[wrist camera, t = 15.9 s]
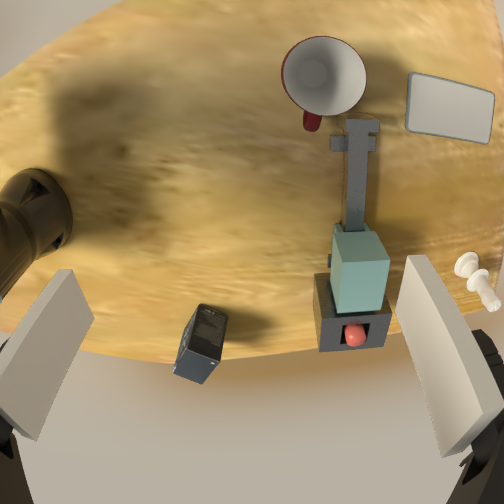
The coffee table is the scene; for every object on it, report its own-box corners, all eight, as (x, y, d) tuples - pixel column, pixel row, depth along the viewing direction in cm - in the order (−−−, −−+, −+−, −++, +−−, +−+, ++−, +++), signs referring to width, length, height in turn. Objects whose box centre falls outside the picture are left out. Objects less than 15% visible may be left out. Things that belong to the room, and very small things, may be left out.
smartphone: (489, 145, 36) (405, 132, 37) (485, 144, 37) (402, 130, 38) (495, 93, 32) (410, 71, 32) (492, 91, 32) (407, 70, 33)
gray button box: (313, 307, 54) (318, 352, 46) (314, 273, 50) (321, 318, 42) (369, 303, 53) (383, 346, 45) (375, 270, 49) (392, 313, 41)
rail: (326, 273, 50) (331, 293, 46) (329, 112, 37) (337, 118, 33) (363, 271, 50) (370, 291, 45) (374, 113, 36) (387, 120, 32)
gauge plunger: (342, 329, 46) (345, 347, 43) (343, 316, 45) (347, 334, 42) (359, 328, 46) (364, 345, 43) (362, 314, 44) (367, 332, 41)
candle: (461, 281, 50) (489, 326, 40) (449, 266, 48) (479, 312, 38) (482, 261, 47) (513, 305, 37) (470, 245, 46) (504, 289, 36)
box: (198, 302, 55) (187, 349, 46) (228, 315, 56) (221, 362, 47) (183, 329, 59) (171, 374, 50) (210, 340, 60) (202, 385, 51)
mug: (343, 124, 38) (364, 143, 29) (279, 123, 38) (282, 140, 30) (344, 45, 32) (367, 39, 24) (277, 41, 33) (280, 33, 24)
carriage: (327, 270, 49) (337, 313, 41) (330, 224, 45) (342, 262, 37) (365, 268, 48) (380, 309, 40) (370, 222, 44) (390, 259, 36)
